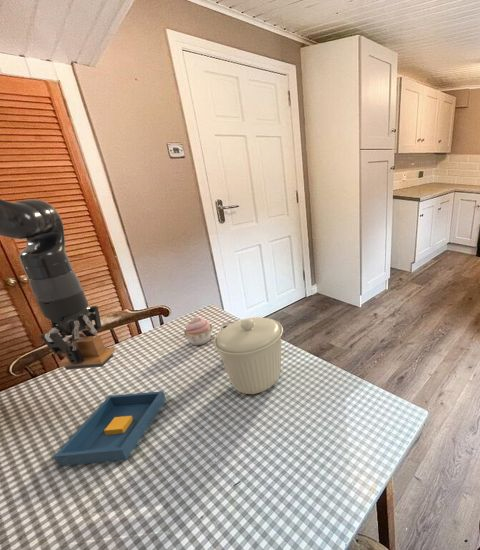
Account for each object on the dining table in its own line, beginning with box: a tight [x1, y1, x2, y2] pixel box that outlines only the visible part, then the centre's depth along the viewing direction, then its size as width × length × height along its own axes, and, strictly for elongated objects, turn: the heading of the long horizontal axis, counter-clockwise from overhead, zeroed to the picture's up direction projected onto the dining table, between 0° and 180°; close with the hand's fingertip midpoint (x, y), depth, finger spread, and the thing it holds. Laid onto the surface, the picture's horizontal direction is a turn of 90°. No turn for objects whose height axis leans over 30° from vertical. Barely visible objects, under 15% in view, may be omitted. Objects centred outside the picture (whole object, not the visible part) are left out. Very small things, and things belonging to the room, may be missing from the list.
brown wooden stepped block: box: [58, 335, 116, 371], centre depth 73 cm, size 9×5×7 cm, turn 97°
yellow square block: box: [104, 416, 133, 435], centre depth 74 cm, size 4×4×2 cm
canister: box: [213, 316, 284, 395], centre depth 86 cm, size 18×18×21 cm
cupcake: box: [183, 316, 213, 346], centre depth 108 cm, size 9×9×10 cm
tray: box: [53, 390, 167, 468], centre depth 74 cm, size 14×18×4 cm
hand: (86, 355), depth 73 cm, fingers closed on brown wooden stepped block, 5 cm apart
